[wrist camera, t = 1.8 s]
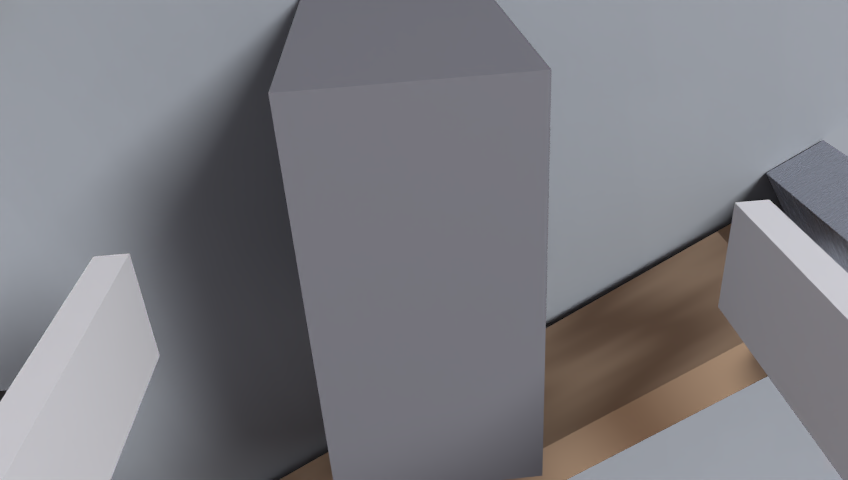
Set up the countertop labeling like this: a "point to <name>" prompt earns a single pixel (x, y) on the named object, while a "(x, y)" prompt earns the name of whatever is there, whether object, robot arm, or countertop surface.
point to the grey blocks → (817, 197)
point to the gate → (633, 363)
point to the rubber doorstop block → (419, 232)
